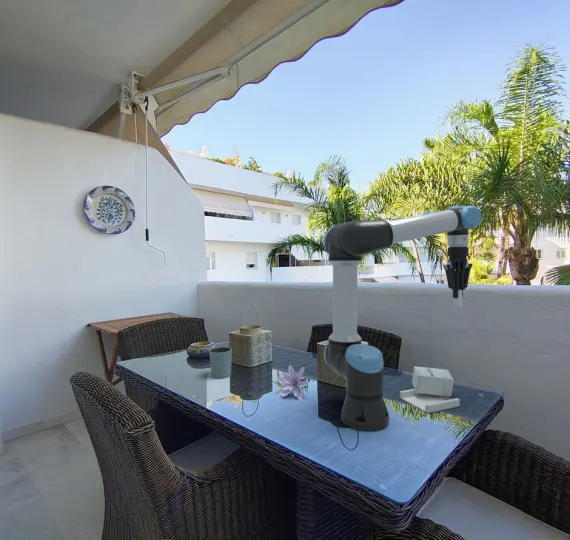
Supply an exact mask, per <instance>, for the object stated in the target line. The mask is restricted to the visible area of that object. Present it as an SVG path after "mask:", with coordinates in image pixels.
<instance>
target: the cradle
mask: <svg viewBox="0 0 570 540" xmlns="http://www.w3.org/2000/svg"><path fill="white" fill-rule="evenodd" d="M399 399H401V400H402V401H405V402H406V403H408V404H410V405H412V406H414V407H415V408H417V409H419V410H421V411H422V412H423V413H424V412H425V413H426V414H431V413H437V412H442V411H444V410H445V411H446V410H451V409H454V408H458V407H460V406H461V405H460V404H461V403H460V402H461V401H460V400H461V399H460V398H458V397H457V398H456V397H455V398H451V400H445V399H443V398H440V397H438V396H436V395H430V394H421V393H416V391H415V389H414V388H411V389H405V390H400V391H399Z"/></svg>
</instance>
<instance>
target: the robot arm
mask: <svg viewBox="0 0 570 540" xmlns="http://www.w3.org/2000/svg"><path fill="white" fill-rule="evenodd" d="M481 220H482V213H481V210H480V209H479V208H478V207H476V206H474V205H467V206H466V205H460V206H459V205H457V206H456V205H455V206H449V207H448V208H447V209H443V210H437V211H436V210H435V211H434V210H430V211H424V212H423V213H422V214H419V215H414V216H407V217H402V218H398V219H393V220H392V219H391V220H388V219H385V218H381V219H371V220H353V221H348V222H342V223H341V222H340V223H337V224H334V225H333V226H331V227H330V228H328V230H327V231H326V233H325V235H324V238H323V246H324V249H325V251H326V252H327V254H328V263H330V264H331V266H332V333H331V334H330V335H329V336H328V342H327V344H326V345H325V347H324V351H323V358H324V359H323V360H324V362H325V364H326V365H327V366H328V368H329V369H330V370H331V371H332V372H334V373H335V374H338V376H340V377H342V378H343V379H345V381H346V382H345V386H346V388H345V389H346V392H345V394H346V396H345V399H344V402H343V405H342V408H341V412H340V416H341V417H340V418H341V419H340V420H341V421H342V423H343V424H344V425H345V426H347V427H349V428H351V429H354V430H358V431H363V432H364V431H365V432H372V431H373V432H374V431H380V430H384V429H386V428H387V427H388V426H389V424H390V414H389V412H388V408H387V405H386V401H385V398H384V365H385V364H384V357H383V353H382V351H381V350H380V349H378V348H377V347H376V346H373V345H368V344H363V343H362V337H361V336H360V335H359V333H358V266H359V265H360V264H361V263H362V261H363V259H362V258H363V256H366V255H368V254H371V253H374V252H379V251H382V250H385V249H389V248H391V247H392V246H393V244H399V243H404V242H407V241H412V240H416V239H421V238H426V237H430V236H431V237H432V236H435V235H440V234H444V233H447V241H446V242H447V244H446V245H447V254H446V255H447V257H448V259H447V263H445V264H443V265H442V266H443V269H444V271H445V278H446V282H447V287H448V289H450V290H452V298H453V307H458V308H461V307H463V297H464V294H463V293H464V290H466V289H467V288H468V285H469V279H470V274H471V270H472V268H473V264H472V263H469V262H468V261H469V260H468V259H467V257H469V248H470V247H469V242H470V241H469V239H470V238H469V233H470V232H469V230H470V229H472V228H476V227H477V226H479V224H480V223H481Z"/></svg>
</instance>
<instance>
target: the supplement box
mask: <svg viewBox="0 0 570 540" xmlns="http://www.w3.org/2000/svg"><path fill="white" fill-rule="evenodd" d="M411 380H412V381H411V384H412V386H413V389H415V391H416V393H421V394H430V395H439V396H447V397H449V398H451V397H452V393H453V387H454V381H455V379H454V378H453V376H452V375H451V373H450V371H449V370H448V369H443V368H435V367H424V366H423V367H422V366H415V365H414V366H413V373H412V379H411Z"/></svg>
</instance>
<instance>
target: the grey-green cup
mask: <svg viewBox="0 0 570 540" xmlns="http://www.w3.org/2000/svg"><path fill="white" fill-rule="evenodd" d="M232 351H233V349H232V347H229V346H216V347H212V348H210V349H209V350H208V353H209V360H210V361H209V362H210V372H211V377H212V379H215V380H217V379H218V380H221V379H222V380H223V379H227V378H230V377H231V376H232V355H233V352H232Z"/></svg>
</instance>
